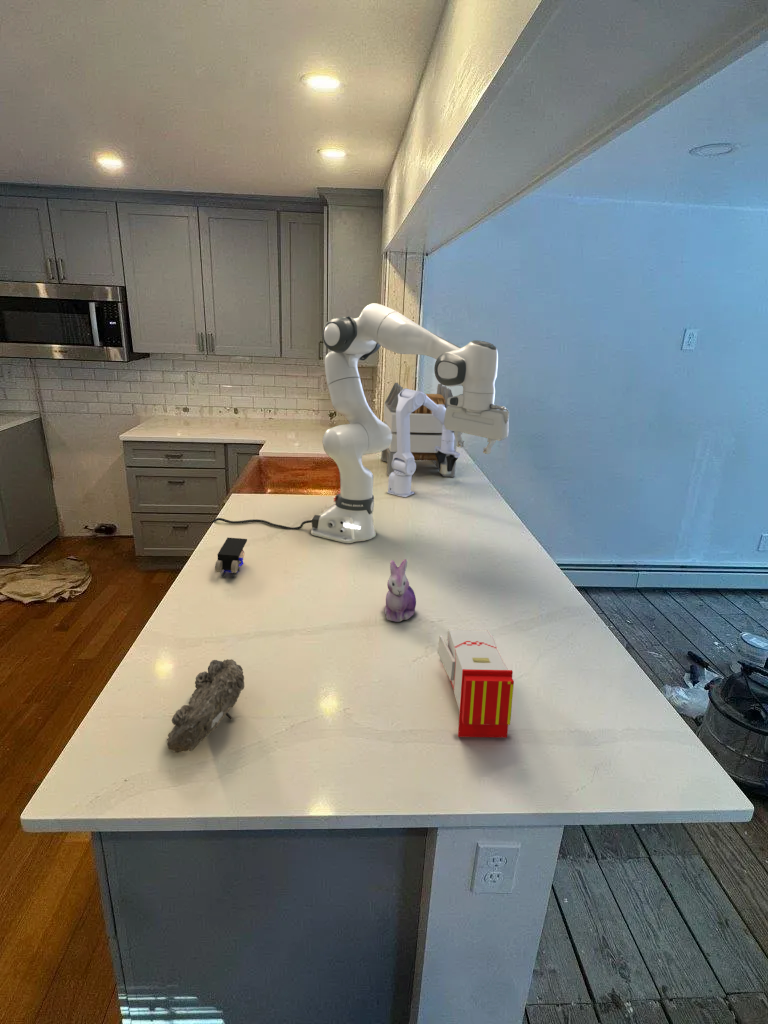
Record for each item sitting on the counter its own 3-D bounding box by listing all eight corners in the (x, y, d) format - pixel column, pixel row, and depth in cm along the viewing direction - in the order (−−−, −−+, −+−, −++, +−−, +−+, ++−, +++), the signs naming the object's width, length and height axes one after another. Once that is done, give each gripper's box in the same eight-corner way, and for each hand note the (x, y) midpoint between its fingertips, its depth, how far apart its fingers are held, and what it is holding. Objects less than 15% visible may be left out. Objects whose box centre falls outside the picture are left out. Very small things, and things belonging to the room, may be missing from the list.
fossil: (192, 660, 117) (244, 628, 112) (224, 691, 120) (276, 661, 115) (142, 746, 98) (202, 712, 93) (182, 779, 101) (242, 748, 96)
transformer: (380, 458, 298) (383, 379, 285) (441, 459, 302) (447, 381, 288) (387, 476, 267) (391, 388, 253) (455, 477, 270) (463, 391, 257)
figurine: (392, 627, 141) (395, 572, 136) (374, 608, 149) (376, 556, 144) (425, 619, 145) (429, 566, 140) (405, 601, 154) (408, 550, 149)
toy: (488, 613, 130) (523, 677, 101) (484, 667, 133) (517, 744, 104) (435, 612, 130) (455, 676, 101) (432, 666, 133) (451, 743, 103)
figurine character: (238, 584, 162) (249, 557, 175) (236, 562, 158) (247, 536, 172) (215, 584, 161) (227, 556, 175) (212, 561, 158) (225, 535, 171)
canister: (452, 473, 256) (453, 463, 254) (445, 474, 253) (446, 465, 251) (444, 470, 259) (445, 461, 258) (437, 472, 256) (438, 463, 255)
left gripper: (516, 406, 154) (510, 455, 158) (456, 396, 167) (452, 442, 172) (503, 408, 149) (497, 459, 154) (442, 397, 163) (439, 444, 167)
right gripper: (465, 442, 248) (463, 472, 253) (443, 436, 259) (441, 464, 263) (454, 444, 244) (451, 474, 248) (431, 437, 255) (429, 466, 259)
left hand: (473, 450), depth 163 cm, fingers open, 8 cm apart
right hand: (445, 469), depth 256 cm, fingers closed on canister, 5 cm apart
